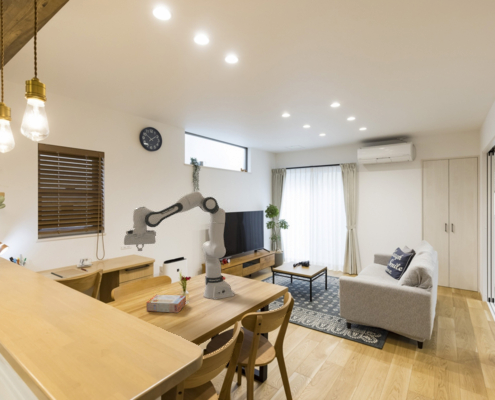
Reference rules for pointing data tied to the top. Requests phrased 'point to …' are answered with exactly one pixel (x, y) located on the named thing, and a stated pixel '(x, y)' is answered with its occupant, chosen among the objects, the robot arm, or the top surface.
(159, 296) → the cracker box
